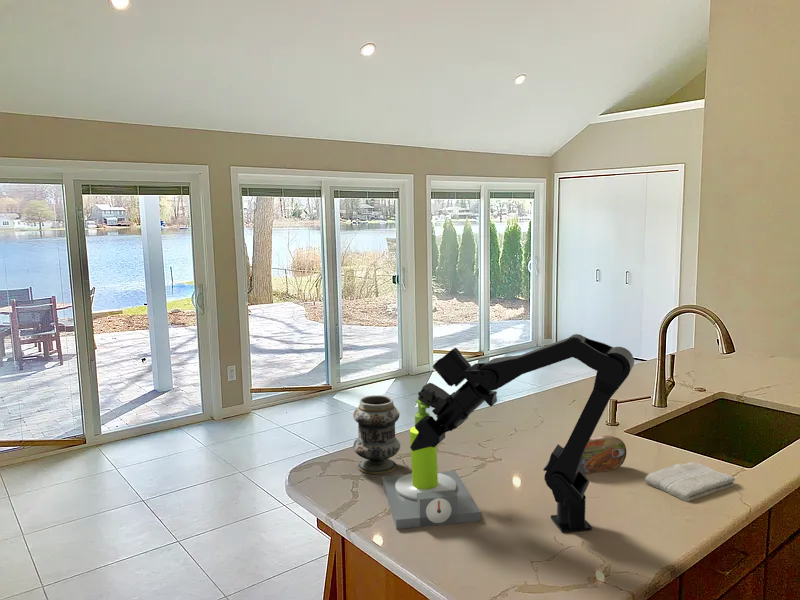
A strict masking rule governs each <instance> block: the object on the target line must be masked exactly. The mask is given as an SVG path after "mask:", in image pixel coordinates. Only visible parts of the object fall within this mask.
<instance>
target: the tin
mask: <svg viewBox="0 0 800 600" xmlns="http://www.w3.org/2000/svg"><path fill="white" fill-rule="evenodd" d="M626 457H627V447H626V444H625V442H624V441H623V440H622V439H620V438H619V437H615V436H613V435H602V436H596V437H591V438H590V440H589V442H588V444H587V446H586V448H585V450H584V453H583V458H582V463H581V466H580V471H581V472H582V474H583V475H590V473H591V474H595V473H596V472H597V473H602V471H603V472H608V471H609V470H610V471H615V470H617V469H619V468H620V467H622V465H623V464H624V462H625V460H626Z"/></svg>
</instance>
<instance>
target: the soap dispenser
mask: <svg viewBox="0 0 800 600" xmlns="http://www.w3.org/2000/svg"><path fill="white" fill-rule="evenodd" d="M415 402H416V403H417V411H418V412H416V413H414V414H415V415H414V424H415V425H416V424H417V423H418V422H419V421H420V420H421V419H422V418H424V417H425V416H431V415H430V413H429V412H427V409H430V408H431V406H430V405H426V404H424V403H423V402H421V401H419V400H418V398H417V399H415ZM415 425H414V426H412V427H411V428H410V429H409V434H410V435H409V437H410V446H411V445H412V443H413V441H414V440H415V438H416V436H417V435H418V431H417V429H416V428H415ZM437 451H438V450H437V445H436V446H435V447H434V448H433V447H427V448H423V449H419V450H415V451H412V449H411V448H410V457H411V473H412V483H413V486H414V487H415V488H418V489H431V488H434V487H436V486H437V485H438V472H439V471H438V453H437Z"/></svg>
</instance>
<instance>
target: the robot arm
mask: <svg viewBox="0 0 800 600" xmlns="http://www.w3.org/2000/svg"><path fill="white" fill-rule="evenodd" d="M571 358H574V359H576V360H577V361H579V362H581V363H583V364H584V365H586V366H587V367H589V368H590V369H592V370H593V371H596V374H595V377H594V383H593V389H592V391H591V394H589V395H590V396H589V397H588V399H587V401H586V404H585V405H584V407H583V409H582V412H581V413H580V415H579V417H578V420H577V421H576V424H575V426H574V427H573V430H572V432H571V434H570V436H569V438H568V440H567V442H566V443H565V445H564V446H561V445H560V444H557V445H556V446H555V447H554V449H553V451H552V452H551V454H550V457H549V460H548V462H547V463H546V465H545V466H544V468H543V471H544V472H545V474H544V481H545V484H546V486H547V487H548V488H549V489H550V490H551V492H552V493H551V494H552V495H553V498H554V501H555V503H556V514H553V515H550V519H551V521H552V522H553V523H554V524H555V525H556V526H557V528H558V529H559V531H560V532H562V533H570V532H578V531H588V530H589V531H590V530H593V526H592V525H591V524H590V523H589V522H588V521H587V520H586V503H587V502H586V498H587V497H586V494H585V493H586V491H587V489H588V487H589V484H590V480H589V479H588V478H587V477H586V476H585V474H583V473H582V472H581V471H580V466H581V463H582V458H583V453H584V450H585V448H586V446H587V444H588V442H589V440H590V438H592V436H593V434H594V432H595V429H596V427H597V425H598V423H599V422H600V420H601V417H602V416H603V414H604V411H606V410H605V409H606V408H607V405H608V403H610V399H611V398H612V397H613V395H614V394H615V393H616V392H617V390H618V389H619V388H620V387H621V386H622V384H624V382H625V381H626V379H627V378H628V377H629V375H630V374H631V372H632V369H633V367H634V364H635V358H634V356H633V353H632V352H631V351H630V350H628V349H627V348H625V347H622V346H611V345H609V344H607V343H605V342H600V341H598V340H594V339H591V338H589V337H585V336H583V335H582V334H578V333H576V334H575V333H574V334H572V335H571V336H569V337H567V338H564V339H561V340H558V341H556V342H553V343H550V344H547V345H545V346H542V347H539V348H535V349H533V350H531V351H528V352H525V353H523V354H519V355H507V356H506V355H505V356H501V357H500V356H499V357H494V358H492V359H490V360H489V361H487V362H477V363H474V364H472V365H471V363H470V362H469V361H468V360H467V359H466V358H465V356H463V355H462V353H461V351H460V350H459V349H458V348H457V347H454V348H452V349H451V350H450V351H449V352H448V353H446V354H445V355H444V356H442V357H441V358H439V359H438V360H437V361H436V362H435V363H434V364H433V365H432V368H433V370H434V371H436V373H437V374H438V375H439V376H440V378H441V379H442V380H443V381H444V382H445V383H446V384H447V385H448V386H450V387H453V386H455V387H458V386H459V385H460V384H461V383H463V382H464V381H465V380H466V381H465V383H463V384H462V385H461V386H460V387H459V388H457V390H455V391H454V392H452V393H451V394H450V393H448V392H447V391H446V390H444V389H443V388H441V387H440V386H438V385H436V384H434V383H432V382H428V383H426V384H425V385H423V386H422V388H421V390H420V391H418V393H417V395H418V396H417V399H418V400H419V401H421V402H423V403H424V404H426V405H430V408H433V409H432V411H431V412H432V413H433V414H434V415H435V418H436V419H435V418H434V417H433V416H431V415H430V416H425V417H424V418H422V419H421V420H420V421H419V422H418V423H417V424H416V425H414V427H415V428H416V429H417V431H418V435H417V436H416V438H415V440H414V441H413V443H412V445H411V444H410V446H409V448H410V450H411V449H412V451H415V450H419V449H423V448H427V447H433V448H434V447H435V446H436V447H437V445H439V444H440V443H441V442H442V441H444V439H446V433H448V432H452V431H454V430H456V429H457V428H458V427H459V426H461V425H462V424H463V423H465V421H466V420H468V419H469V416H470V415H472V413H473V412H474V411H476V409H478V408H479V407H480V406H481V405H482V404H483V403H484V402H485V403H487V405H488V406H489V407H493V406H494V405H495V404H496V403H498V397H497V394H498V392H497V391H496V390H498V389H500V388H502V387H504V386H505V385H507V384H509V383H511V382H512V381H514V380H515V379H518V378H519V377H520V376H522V375H525V374H527V373H530V372H532V371H537V370H539V369H542V368H545V367H549V366H551V365H553V364H556V363H557V364H558V363H560V362H562V361H565V360H568V359H571Z"/></svg>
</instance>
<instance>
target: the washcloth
mask: <svg viewBox="0 0 800 600" xmlns="http://www.w3.org/2000/svg"><path fill="white" fill-rule="evenodd" d="M735 481H736V479H735V477H734V476H733V475H729V474H726V473H724V472H719V471H716V470H714V469H712V468H711V467H708V466H707V465H705V464H701V463H698V462H695V461H690V462H688V463H675V464H673V465H671V466H669V467H664V468H662V469H659V470H656V471H652V472H650V473H648V475H646V476H645V478H644V482H645V483H646V484H647V485H648V486H651V487H653V488H655V487H656V489H657V488H658V489H657V490H661V491H663V492H665V493H667V492H668V495H670V496H673V497H676V498H678V499H680V500H682V501H685V502H690V501H694V500H696V499H699V498H702V497H705V496H708V495H711V494H713V493H715V492H718V491H721V490H725V489H727V488H731V487H734V486H735V483H734V482H735Z"/></svg>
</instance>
